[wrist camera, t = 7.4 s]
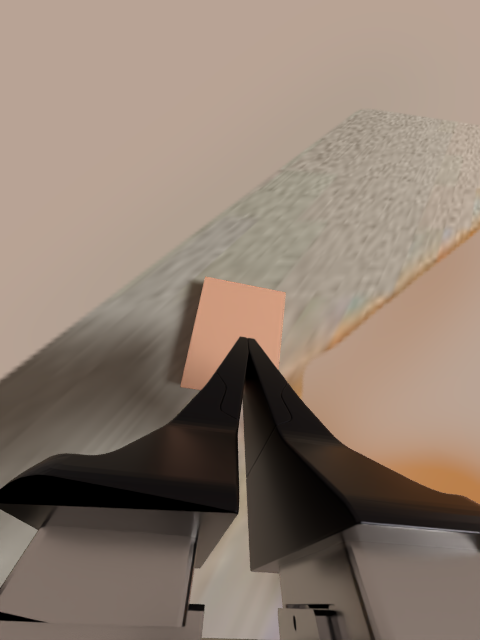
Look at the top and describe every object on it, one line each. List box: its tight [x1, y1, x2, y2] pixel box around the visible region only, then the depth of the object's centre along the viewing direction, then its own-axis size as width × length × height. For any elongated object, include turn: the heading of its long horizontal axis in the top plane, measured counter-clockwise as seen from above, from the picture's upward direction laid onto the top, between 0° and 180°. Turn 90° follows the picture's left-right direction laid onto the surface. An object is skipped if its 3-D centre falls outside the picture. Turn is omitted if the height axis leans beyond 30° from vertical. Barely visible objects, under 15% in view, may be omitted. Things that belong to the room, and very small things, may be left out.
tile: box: [180, 277, 286, 390], centre depth 17 cm, size 2×8×10 cm
